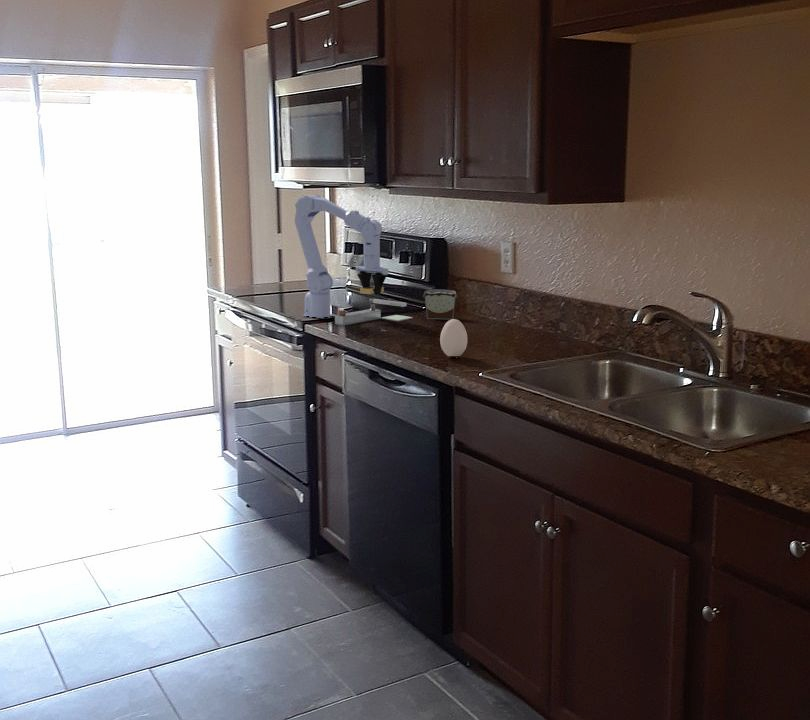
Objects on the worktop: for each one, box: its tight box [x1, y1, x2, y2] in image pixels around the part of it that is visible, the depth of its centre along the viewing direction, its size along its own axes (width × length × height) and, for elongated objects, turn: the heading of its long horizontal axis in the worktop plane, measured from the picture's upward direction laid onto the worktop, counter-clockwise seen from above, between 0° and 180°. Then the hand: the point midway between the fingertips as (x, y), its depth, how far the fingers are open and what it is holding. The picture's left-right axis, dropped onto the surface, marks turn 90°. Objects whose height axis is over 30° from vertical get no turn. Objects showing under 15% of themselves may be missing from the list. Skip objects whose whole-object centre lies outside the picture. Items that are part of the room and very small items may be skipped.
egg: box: [439, 318, 468, 357], centre depth 264 cm, size 8×8×11 cm
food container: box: [422, 289, 458, 320], centre depth 330 cm, size 12×6×10 cm, turn 84°
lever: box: [368, 298, 407, 308], centre depth 323 cm, size 2×16×1 cm, turn 51°
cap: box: [359, 285, 385, 295], centre depth 323 cm, size 5×7×2 cm
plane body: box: [334, 302, 382, 327], centre depth 323 cm, size 4×19×6 cm, turn 138°
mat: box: [381, 314, 413, 322], centre depth 329 cm, size 8×8×1 cm
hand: (372, 293), depth 323 cm, fingers closed on cap, 5 cm apart
